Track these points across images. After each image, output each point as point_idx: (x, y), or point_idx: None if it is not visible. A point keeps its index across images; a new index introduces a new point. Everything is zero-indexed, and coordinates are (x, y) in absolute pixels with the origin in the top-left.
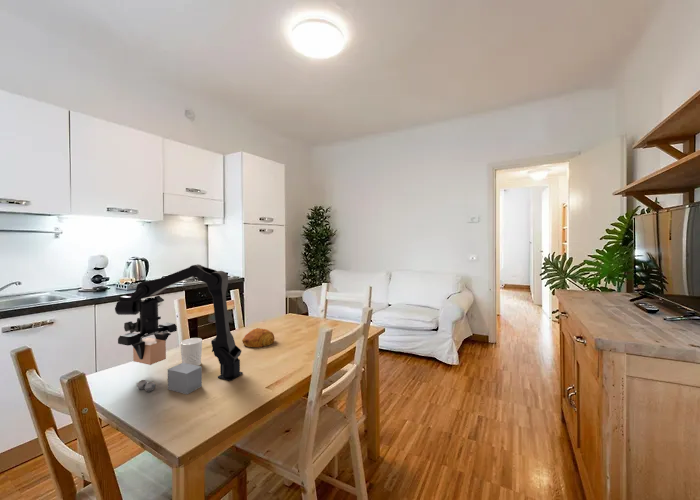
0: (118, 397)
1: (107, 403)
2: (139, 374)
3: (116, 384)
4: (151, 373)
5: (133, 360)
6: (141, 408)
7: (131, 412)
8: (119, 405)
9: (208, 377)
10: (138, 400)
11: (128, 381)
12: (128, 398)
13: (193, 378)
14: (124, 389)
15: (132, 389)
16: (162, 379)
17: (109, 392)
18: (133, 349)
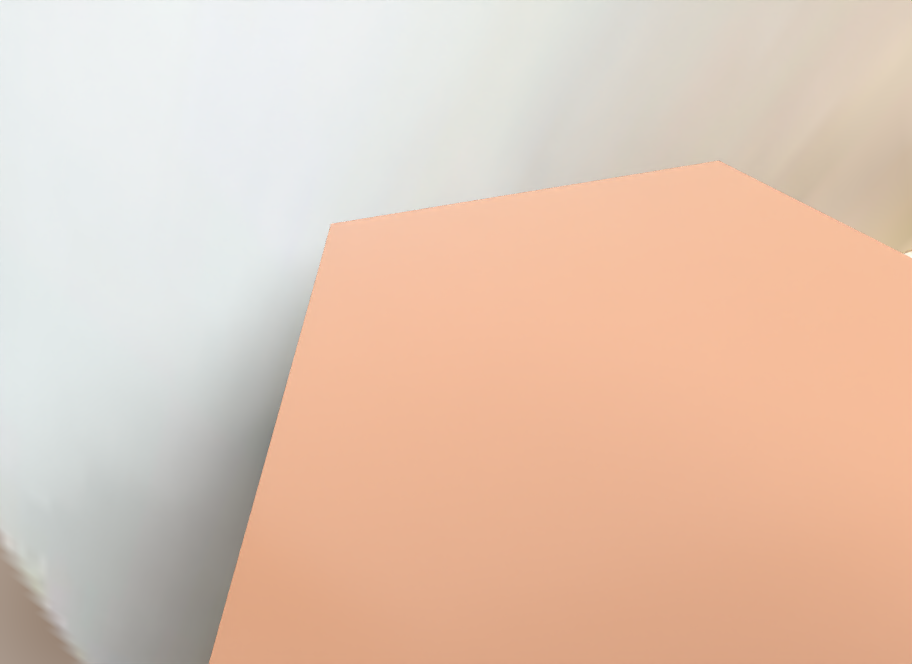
0: (106, 453)
1: (12, 484)
2: (470, 43)
3: (131, 120)
4: (568, 167)
5: (329, 233)
6: (208, 658)
7: (149, 660)
8: (97, 562)
9: None
10: (224, 581)
11: (277, 164)
12: (174, 518)
13: None
14: (184, 344)
15: (245, 401)
16: None
17: (34, 289)
18: (282, 431)
